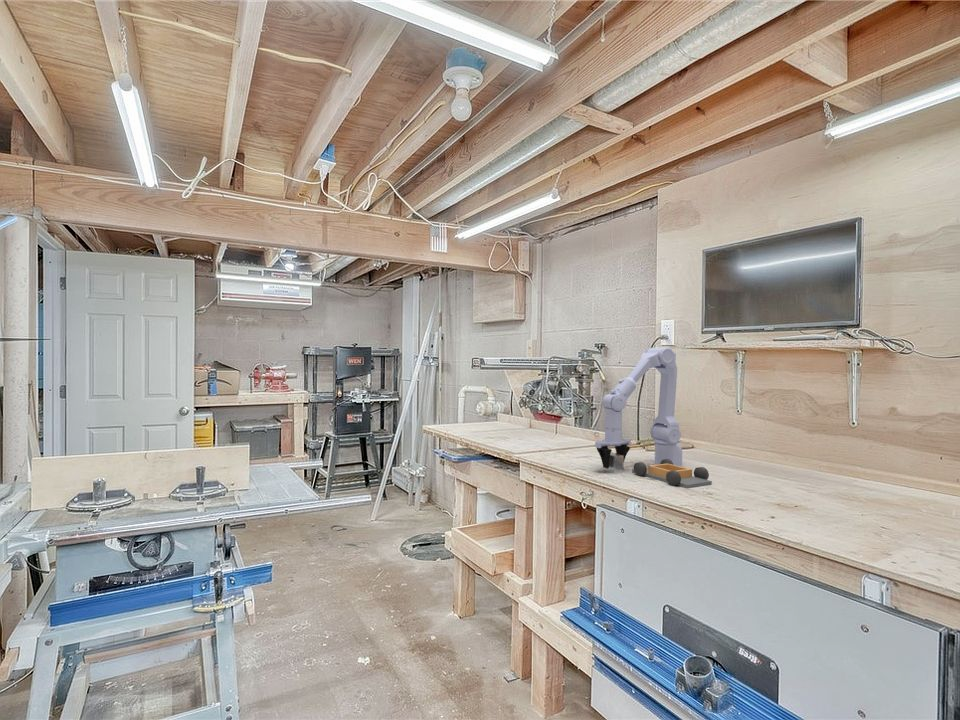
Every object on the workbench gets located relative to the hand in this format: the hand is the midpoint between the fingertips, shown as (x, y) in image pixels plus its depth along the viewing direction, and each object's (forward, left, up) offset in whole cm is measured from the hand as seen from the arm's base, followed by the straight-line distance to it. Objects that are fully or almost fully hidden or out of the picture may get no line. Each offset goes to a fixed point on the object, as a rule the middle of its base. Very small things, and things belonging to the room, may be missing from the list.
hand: (613, 466), depth 170 cm
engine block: (0, 0, -2) cm, 2 cm away
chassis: (-10, +16, -1) cm, 19 cm away
